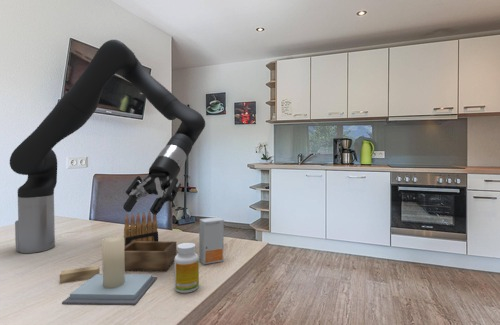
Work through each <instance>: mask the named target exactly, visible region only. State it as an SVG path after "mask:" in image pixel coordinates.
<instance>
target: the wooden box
mask: <svg viewBox="0 0 500 325" xmlns="http://www.w3.org/2000/svg"><path fill="white" fill-rule="evenodd" d="M124 252H125V272H154V273H155V272H161V273H162V272H163V273H164V272H168V270H169V269H170V268H171V266H172V265H173V264H174V259H175V256H176V255H177V254H178V251H177V241H162V240H161V241H159V240H158V241H132V242H131V243H129V244H128V245H126V246H125V247H124Z"/></svg>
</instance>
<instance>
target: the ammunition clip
mask: <svg viewBox="0 0 500 325" xmlns="http://www.w3.org/2000/svg"><path fill="white" fill-rule="evenodd" d="M140 215H141V214H140V213H139V212H137V214H136V219H135V215H134V213H132V214H131V216H130V217H129V215H128V214H125V217H124V229H123V237H124V247H125V246H126V245H128V244H129V243H131V242H132V241H159V230H158V220H157V218H158V217H157V215H153V214H152V213H151V212H150V210H149V211H148V212H147V215H146V214H145V211H143V213H142V215H141V216H140ZM146 216H147V218H146ZM129 218H130V219H129Z"/></svg>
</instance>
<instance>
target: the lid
mask: <svg viewBox="0 0 500 325" xmlns="http://www.w3.org/2000/svg"><path fill="white" fill-rule="evenodd" d="M101 241H102V242H101V243H102V244H101V245H102V249H101V250H102V252H101V253H102V273H99V274H96V275H95V276H93V277H92V278H91V279H87V281H86V282H84V283H82V284H81V285H80V286H78V287H77V288H76V289H75V290H73V291H71V292H70V293H69V297H70V299H126V300H135V299H136V297H137V296H138V295H139V294H140V293H141V292H142V290H143V289H144V288H145V287H146V286H147V285H148V283H149V282H150V281H151V280H152V277H153V274H139V273H138V274H133V273H132V274H131V273H130V274H126V273H125V272H126V271H125V252H124V236H121V235H120V236H118V235H117V236H109V237H106V238H103V239H102V240H101Z"/></svg>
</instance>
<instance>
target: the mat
mask: <svg viewBox="0 0 500 325" xmlns="http://www.w3.org/2000/svg"><path fill="white" fill-rule="evenodd" d="M157 279H158V276H152V280H151V281H150V282H149V283H148V285H147V286H146V287H145V288H144V289H143V290H142V292H141V293H140V294H139V295H138V296H137V297H136V299H135V300H126V299H70V296H68V297H67V298H65V299H64V300H63V301H61V305H90V306H91V305H94V306H95V305H96V306H97V305H98V306H99V305H100V306H104V305H105V306H106V305H107V306H110V305H111V306H113V305H114V306H136V305H137V304H138V303H139V301H140V300H141V299H142V298H143V296H144V295H145V294H146V292H147V291H148V290H149V289H150V288H151V286H152V285H153V284H154V283H155V282H156V280H157Z"/></svg>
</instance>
